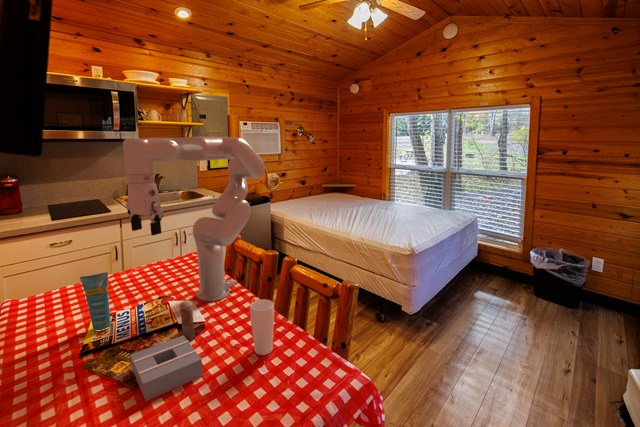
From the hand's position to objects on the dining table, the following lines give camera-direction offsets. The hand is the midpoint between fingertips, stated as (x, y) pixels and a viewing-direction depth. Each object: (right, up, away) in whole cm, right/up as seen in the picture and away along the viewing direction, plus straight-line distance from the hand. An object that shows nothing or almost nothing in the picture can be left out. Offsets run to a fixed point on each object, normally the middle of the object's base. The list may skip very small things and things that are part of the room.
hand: (146, 232), depth 109 cm
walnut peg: (+15, -33, -3) cm, 37 cm away
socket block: (+15, -37, -18) cm, 44 cm away
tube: (-16, -32, +3) cm, 36 cm away
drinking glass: (+39, -35, -8) cm, 53 cm away
